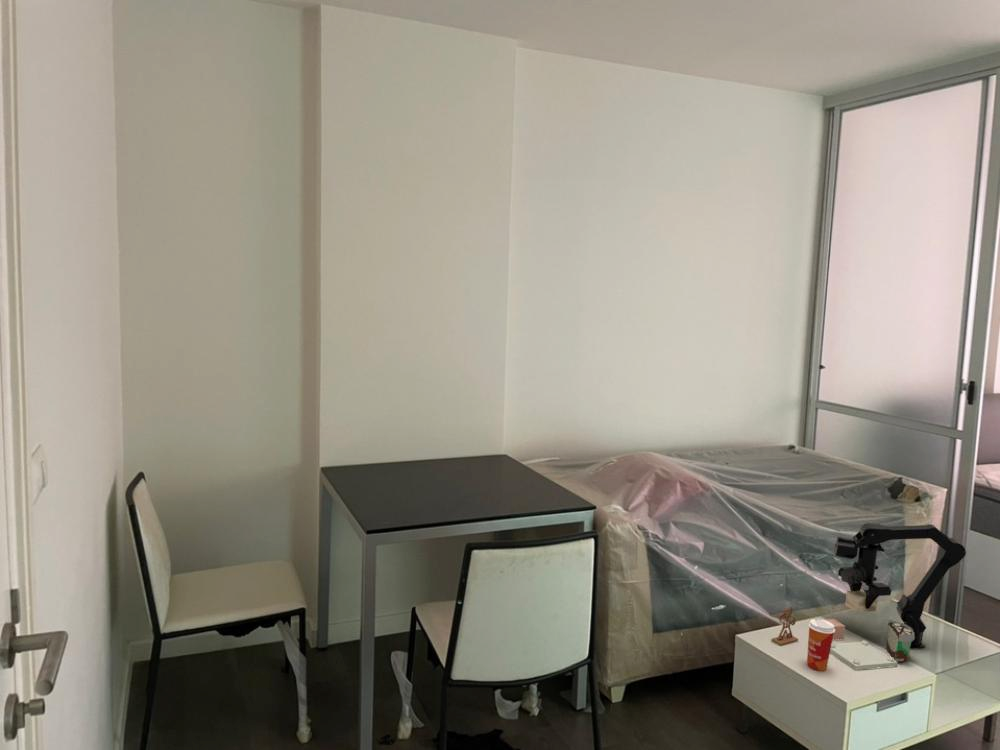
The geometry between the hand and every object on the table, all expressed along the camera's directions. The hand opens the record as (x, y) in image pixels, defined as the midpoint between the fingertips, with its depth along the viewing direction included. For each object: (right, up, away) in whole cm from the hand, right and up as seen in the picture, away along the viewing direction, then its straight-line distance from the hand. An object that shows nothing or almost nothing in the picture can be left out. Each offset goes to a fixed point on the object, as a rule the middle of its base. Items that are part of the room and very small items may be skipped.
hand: (860, 605), depth 263 cm
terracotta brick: (-12, -10, -2) cm, 16 cm away
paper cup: (-25, -12, -25) cm, 37 cm away
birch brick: (0, -1, 0) cm, 1 cm away
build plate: (-8, -12, -17) cm, 22 cm away
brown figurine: (-29, -10, -8) cm, 32 cm away
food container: (+6, -13, -14) cm, 20 cm away
